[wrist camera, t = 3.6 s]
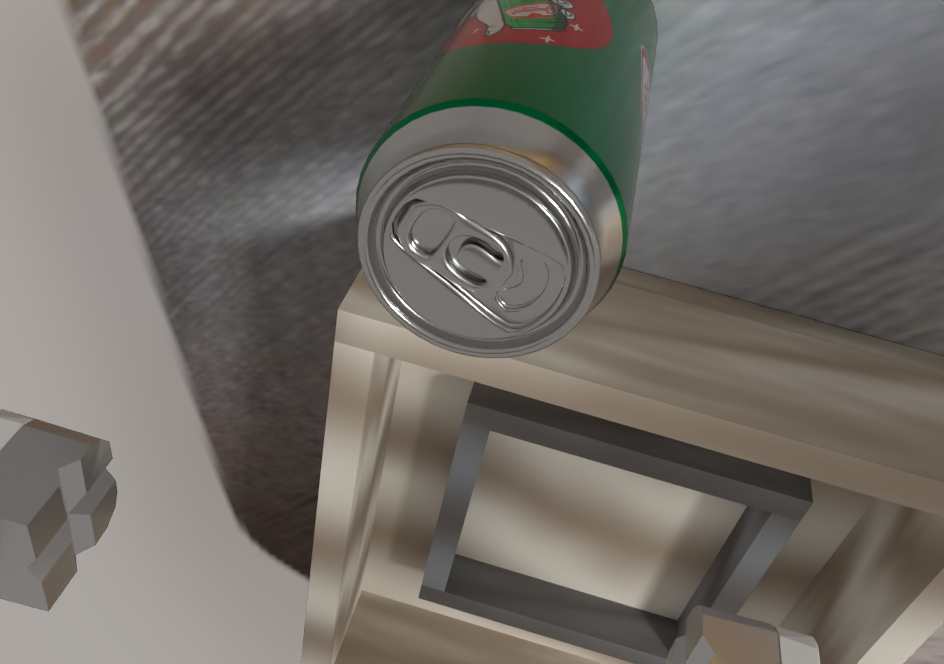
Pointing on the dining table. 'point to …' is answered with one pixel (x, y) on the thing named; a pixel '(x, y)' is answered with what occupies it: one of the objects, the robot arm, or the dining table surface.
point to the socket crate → (626, 487)
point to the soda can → (511, 175)
